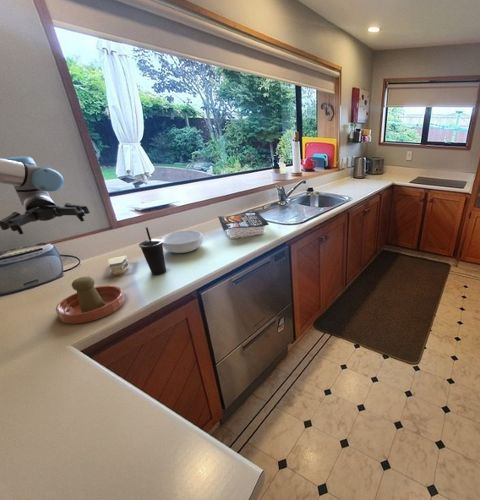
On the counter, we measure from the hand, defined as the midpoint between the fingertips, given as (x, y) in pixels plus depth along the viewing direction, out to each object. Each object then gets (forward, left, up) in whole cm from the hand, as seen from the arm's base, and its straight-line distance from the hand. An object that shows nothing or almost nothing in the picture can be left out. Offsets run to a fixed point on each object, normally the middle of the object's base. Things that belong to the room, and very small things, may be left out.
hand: (51, 223), depth 85 cm
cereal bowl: (+22, +38, -28) cm, 52 cm away
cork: (+6, -7, -27) cm, 29 cm away
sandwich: (+3, +20, -28) cm, 35 cm away
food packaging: (+47, +59, -28) cm, 80 cm away
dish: (+6, -6, -28) cm, 29 cm away
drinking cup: (+18, +16, -28) cm, 37 cm away
